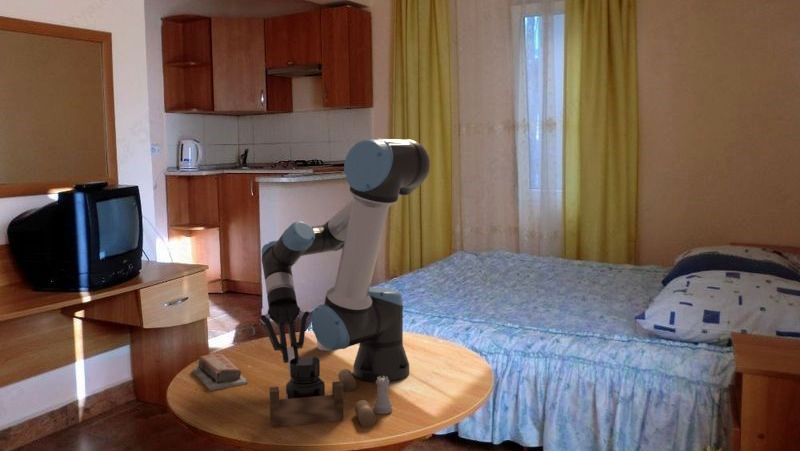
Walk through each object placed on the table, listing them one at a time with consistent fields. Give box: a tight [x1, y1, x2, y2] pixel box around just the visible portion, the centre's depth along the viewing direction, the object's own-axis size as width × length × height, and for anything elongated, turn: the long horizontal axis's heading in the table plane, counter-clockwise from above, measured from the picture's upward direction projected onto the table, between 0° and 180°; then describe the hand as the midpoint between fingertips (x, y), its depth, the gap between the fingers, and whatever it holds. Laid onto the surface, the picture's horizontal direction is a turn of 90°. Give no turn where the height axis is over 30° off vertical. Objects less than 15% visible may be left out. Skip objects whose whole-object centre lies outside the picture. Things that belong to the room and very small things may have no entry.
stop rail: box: [268, 380, 345, 428], centre depth 151 cm, size 16×3×8 cm, turn 103°
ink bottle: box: [285, 355, 326, 399], centre depth 157 cm, size 10×9×12 cm
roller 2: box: [354, 399, 377, 428], centre depth 151 cm, size 7×4×4 cm, turn 13°
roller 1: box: [337, 368, 357, 392], centre depth 173 cm, size 7×4×4 cm, turn 13°
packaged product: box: [192, 353, 249, 391], centre depth 181 cm, size 18×5×10 cm
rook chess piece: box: [372, 376, 393, 415], centre depth 156 cm, size 4×4×8 cm
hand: (293, 373), depth 168 cm, fingers closed
